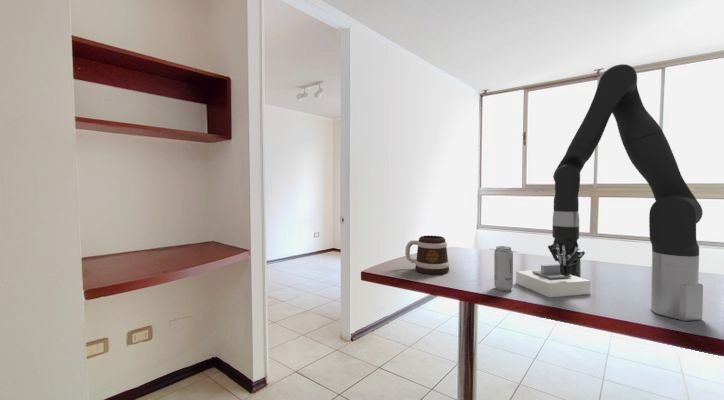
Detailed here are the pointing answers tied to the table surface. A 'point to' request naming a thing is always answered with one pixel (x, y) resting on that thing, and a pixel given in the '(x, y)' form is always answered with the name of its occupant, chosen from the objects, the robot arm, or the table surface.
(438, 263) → the mug
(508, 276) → the energy drink can
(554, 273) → the grey stepped block
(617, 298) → the table surface
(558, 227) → the robot arm
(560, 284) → the socket plate
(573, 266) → the supplement bottle
